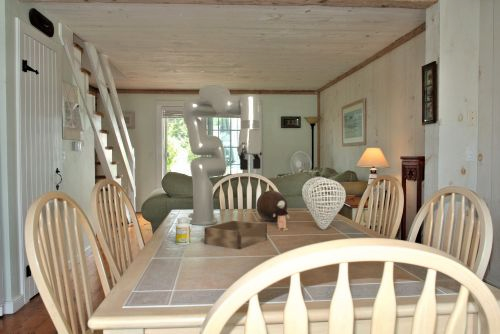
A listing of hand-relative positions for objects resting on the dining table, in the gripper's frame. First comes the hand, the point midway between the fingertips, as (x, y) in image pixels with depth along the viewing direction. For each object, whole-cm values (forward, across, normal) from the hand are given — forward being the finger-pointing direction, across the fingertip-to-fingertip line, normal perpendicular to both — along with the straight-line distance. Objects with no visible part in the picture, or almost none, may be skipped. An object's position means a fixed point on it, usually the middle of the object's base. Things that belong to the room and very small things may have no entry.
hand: (250, 169), depth 159 cm
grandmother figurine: (+27, -18, +4) cm, 33 cm away
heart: (+27, -28, +19) cm, 43 cm away
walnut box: (+27, +10, 0) cm, 29 cm away
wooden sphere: (+27, -36, -10) cm, 46 cm away
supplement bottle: (+27, +23, -16) cm, 39 cm away
